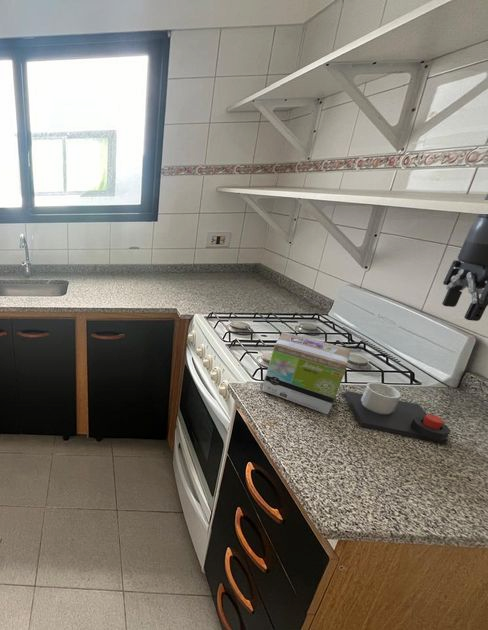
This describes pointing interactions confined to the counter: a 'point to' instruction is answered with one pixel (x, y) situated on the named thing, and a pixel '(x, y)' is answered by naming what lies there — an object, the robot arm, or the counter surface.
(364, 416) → the scale
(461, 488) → the counter surface
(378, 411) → the white cup
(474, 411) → the counter surface
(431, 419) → the button
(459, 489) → the counter surface
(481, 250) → the robot arm
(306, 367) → the tea box
